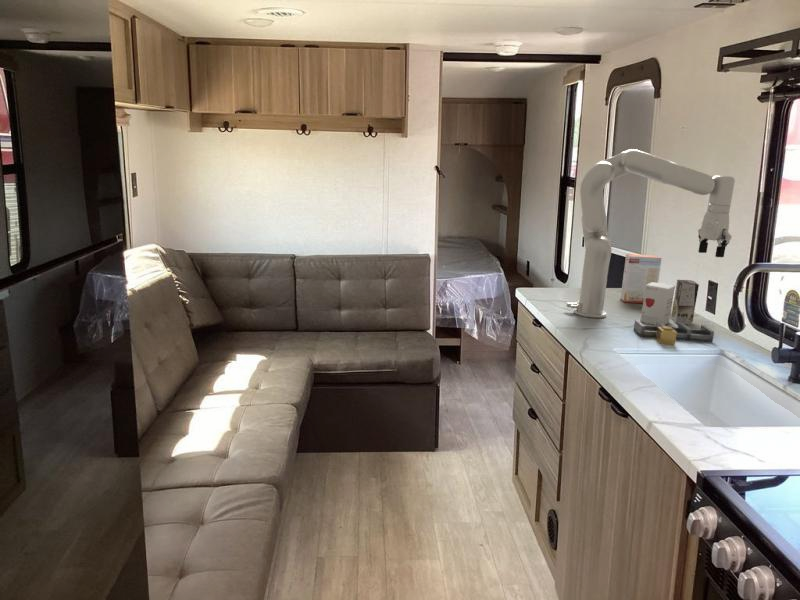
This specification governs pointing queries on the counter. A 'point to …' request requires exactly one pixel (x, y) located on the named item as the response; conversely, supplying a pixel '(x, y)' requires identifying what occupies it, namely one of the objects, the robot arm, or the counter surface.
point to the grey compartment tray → (682, 331)
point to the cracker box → (639, 276)
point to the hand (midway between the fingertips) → (710, 254)
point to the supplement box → (657, 303)
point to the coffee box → (684, 301)
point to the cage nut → (665, 335)
